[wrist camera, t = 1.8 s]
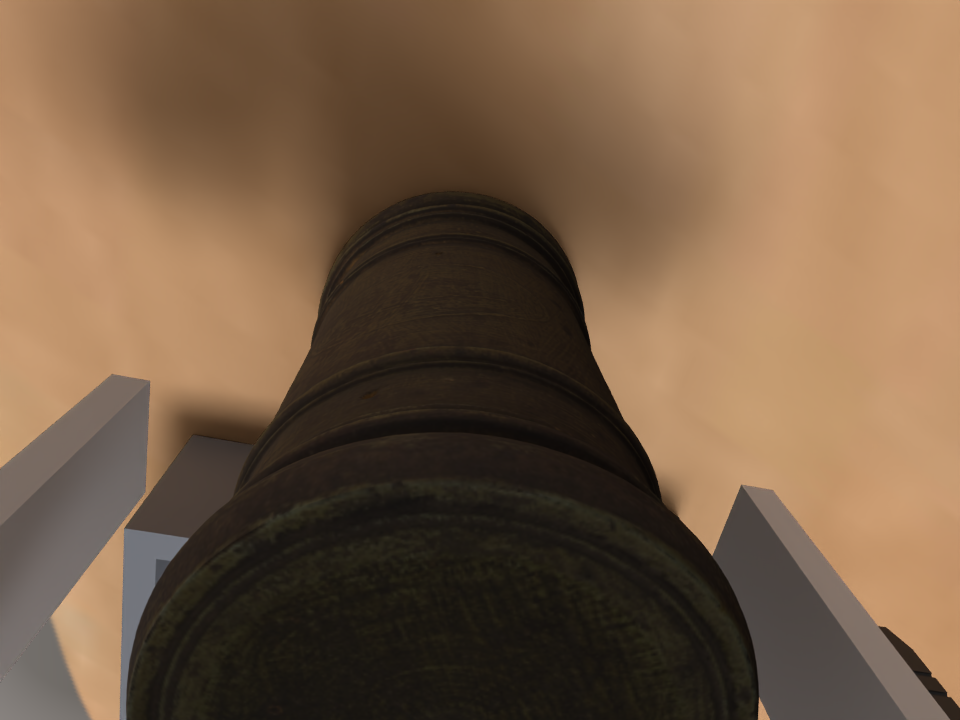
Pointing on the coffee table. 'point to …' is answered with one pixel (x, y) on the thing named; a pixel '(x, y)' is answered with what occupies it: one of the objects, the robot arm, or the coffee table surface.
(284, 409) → the container
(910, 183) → the coffee table surface
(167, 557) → the walled box
